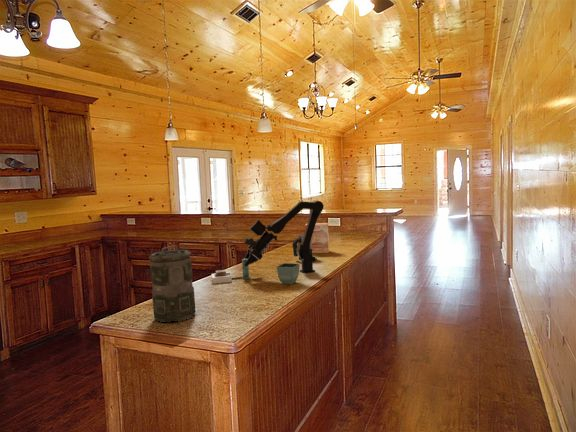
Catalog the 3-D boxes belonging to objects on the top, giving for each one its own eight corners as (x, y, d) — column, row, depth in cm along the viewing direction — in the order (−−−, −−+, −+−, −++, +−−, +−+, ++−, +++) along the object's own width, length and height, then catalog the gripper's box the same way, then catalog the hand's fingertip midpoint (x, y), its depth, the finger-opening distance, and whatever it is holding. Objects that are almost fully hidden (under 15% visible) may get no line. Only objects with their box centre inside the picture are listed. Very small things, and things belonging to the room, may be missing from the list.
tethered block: (249, 276, 228) (248, 258, 228) (251, 278, 224) (249, 259, 223) (216, 279, 225) (214, 261, 224) (216, 282, 220) (215, 263, 219)
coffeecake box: (306, 253, 285) (304, 224, 284) (307, 251, 292) (306, 223, 291) (328, 252, 283) (327, 223, 281) (329, 251, 290) (328, 222, 288)
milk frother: (304, 256, 275) (302, 233, 274) (325, 258, 266) (323, 234, 265) (291, 260, 264) (289, 237, 263) (312, 262, 255) (311, 238, 253)
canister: (174, 326, 156) (167, 250, 154) (145, 320, 165) (138, 249, 162) (204, 313, 170) (198, 243, 167) (176, 308, 178) (170, 242, 175)
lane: (230, 277, 229) (229, 271, 229) (231, 281, 219) (231, 275, 219) (212, 279, 227) (211, 273, 227) (212, 283, 217) (212, 277, 217)
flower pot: (300, 281, 211) (299, 263, 211) (293, 285, 203) (292, 267, 203) (284, 280, 215) (283, 263, 214) (277, 285, 207) (276, 266, 206)
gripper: (250, 229, 233) (231, 251, 232) (254, 233, 215) (234, 257, 214) (265, 242, 236) (246, 264, 235) (270, 247, 217) (250, 271, 216)
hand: (244, 263), depth 225 cm, fingers open, 9 cm apart
